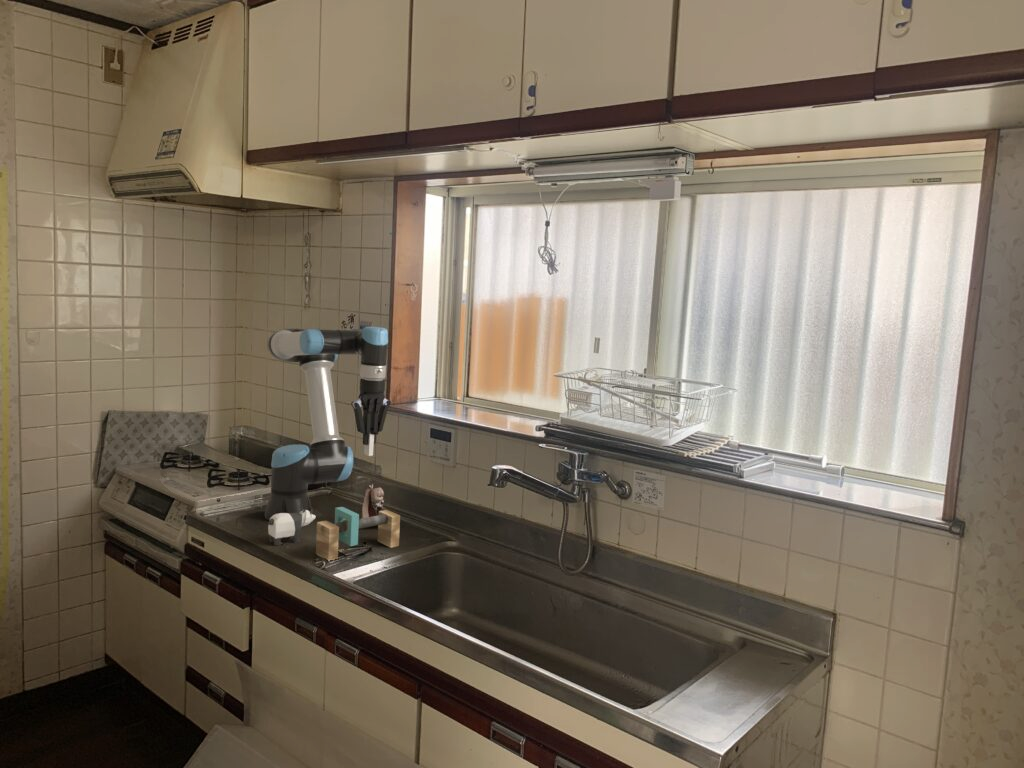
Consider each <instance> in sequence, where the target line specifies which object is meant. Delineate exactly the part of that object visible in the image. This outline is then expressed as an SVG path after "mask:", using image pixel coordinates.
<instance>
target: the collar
mask: <svg viewBox="0 0 1024 768" xmlns="http://www.w3.org/2000/svg"><path fill="white" fill-rule="evenodd" d="M359 519H360V514H359V513H357V512H355V511H352V510H350V509H349V508H347V507H343V506H339V507H334V523H340V522H342V521H344V520H347V521H348V527H347V532H346V533H344V532H339V541H340V542H341V543H343V544H346V545H347V546H349V547H353V546H358V545H359V529H358V528H359Z"/></svg>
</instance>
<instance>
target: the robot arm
mask: <svg viewBox="0 0 1024 768" xmlns="http://www.w3.org/2000/svg"><path fill="white" fill-rule="evenodd" d="M388 334H389V333H388V330H387V328H385V327H381V326H364V327H363V329H360V328H351V329H325V328H324V329H323V328H281V329H279V330H276V331H274V332H273V333H272V334H271V335H269V337H268V340H267V343H266V344H267V345H266V346H267V349H268V352H269V354H270V355H271V356H272V357H273V358H275V359H277V360H278V361H280V362H281V361H282V362H284V363H285V362H286V363H299V368H300V369H299V370H301V371H302V372H304V374H305V383H306V390H307V398H308V407H309V415H310V422H311V429H312V436H313V437H312V438H313V439H312V441H311V442H310V444H309V446H308V445H306V444H300V443H299V444H295V443H294V444H288V445H285V446H281V447H278V448H277V449H276V448H275V450H274V451H273V452H272V455H271V456H272V457H271V463H270V466H271V472H270V473H271V475H270V476H271V477H270V496H269V498H268V500H267V504H266V506H265V509H264V519H265V520H267V521H269V520H270V518H271V517H272V516H273V515H275V514H279V513H300V512H301V508H303V510H304V509H306V510H308V511H309V512H310V513H311V514H313V507H312V504H311V500H310V498H309V493H308V489H309V485H312V484H315V485H316V484H324V483H337V482H340V481H341V482H343V481H346V480H347V479H348V478H349V477H350V476H351V473H352V471H353V467H354V453H353V450H352V447H351V446H349V445H346V442H345V439H344V438H342V437H341V436H340V432H339V425H338V417H337V410H336V403H335V396H334V388H333V381H332V373H331V372H332V371H331V370H332V368H333V367H334V366H335V362H337V360H338V357H339V355H352V356H353V355H356V356H357V355H358V356H361V357H360V370H359V371H360V373H359V376H360V377H361V378H360V379H359V395H358V398H357V400H355V401H351V403H350V405H351V407H352V409H353V413H354V418H355V419H354V420H355V424H356V425H355V426H356V430H357V432H358V433H360V434H362V444H363V445H364V449H363V454H364V455H365V456H368V457H372V456H374V445H375V444H376V442H377V435H379V432H380V433H381V432H382V431H383V429H384V425H385V421H386V417H387V414H388V410H389V408H390V406H391V403H392V401H391V400H389V399H387V398H386V396H385V394H384V392H385V391H386V380H385V379H386V373H387V371H386V370H387V359H388V358H387V357H388V344H389V338H388V336H389V335H388Z"/></svg>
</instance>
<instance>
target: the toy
mask: <svg viewBox="0 0 1024 768" xmlns="http://www.w3.org/2000/svg"><path fill="white" fill-rule="evenodd" d="M369 487H370V488H367V489H365V493H364V498H363V504H362V508H361V509H362V510H361V518H367V517H372V516H378V515H379V511H383V510H388V509H387V508H386V507H385V506H384V503H386V500H384V496H385V492H384V490H383V488H382V487H376V488H374V483H372V484H371V485H370V484H369ZM372 500H374V506H373V502H372ZM365 528H366V529H367V528H368V527H365Z"/></svg>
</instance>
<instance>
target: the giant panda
mask: <svg viewBox="0 0 1024 768" xmlns="http://www.w3.org/2000/svg"><path fill="white" fill-rule="evenodd" d="M316 517H317V516H316V514H313V513H312V514H311V513H310V512H309V511H308V510H306V509H304V510H303V508H301V512H300V513H279V514H275V515H273V516H272V517H271V518H270V520H268V527H267V531H268V538H269V543H271V542H273V545H274V546H275V545H278V546H281V544H283V542H282V541H281V539H282V538H288V540H292V542H293V543H295V542H296V543H302V541H303V540H302V539H301V532H302V527H304V526H308V525H309V524H310V523H312V522H313V521H314V520H315V519H316Z"/></svg>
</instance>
